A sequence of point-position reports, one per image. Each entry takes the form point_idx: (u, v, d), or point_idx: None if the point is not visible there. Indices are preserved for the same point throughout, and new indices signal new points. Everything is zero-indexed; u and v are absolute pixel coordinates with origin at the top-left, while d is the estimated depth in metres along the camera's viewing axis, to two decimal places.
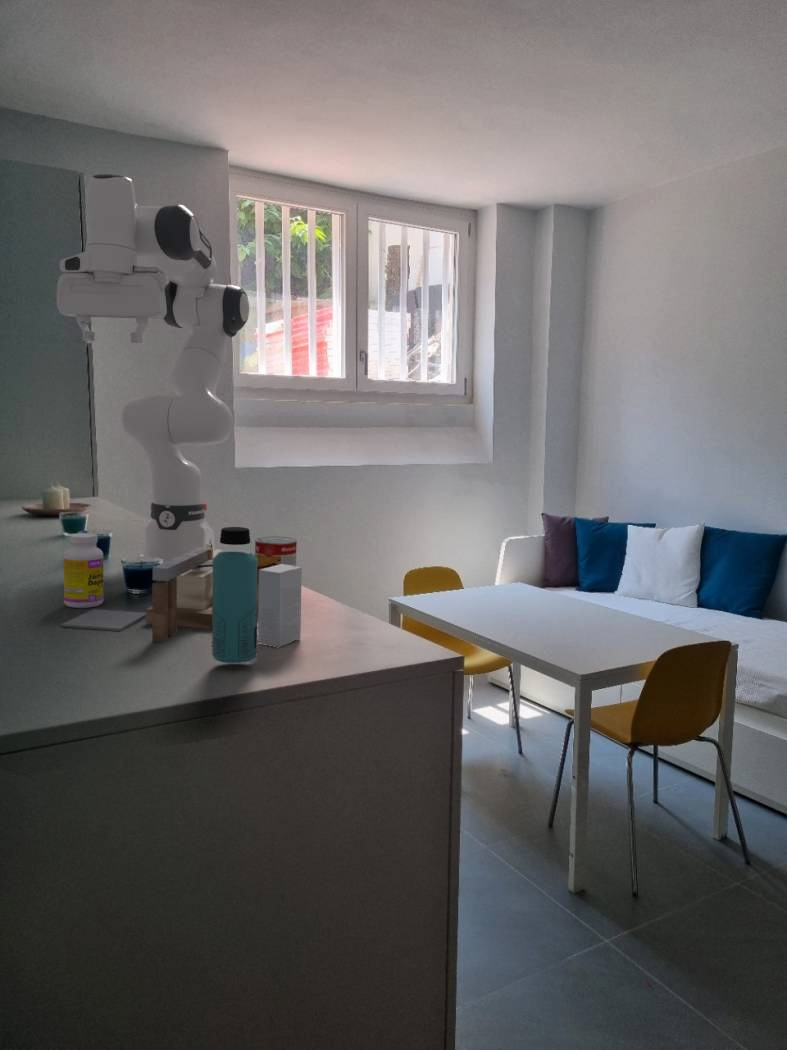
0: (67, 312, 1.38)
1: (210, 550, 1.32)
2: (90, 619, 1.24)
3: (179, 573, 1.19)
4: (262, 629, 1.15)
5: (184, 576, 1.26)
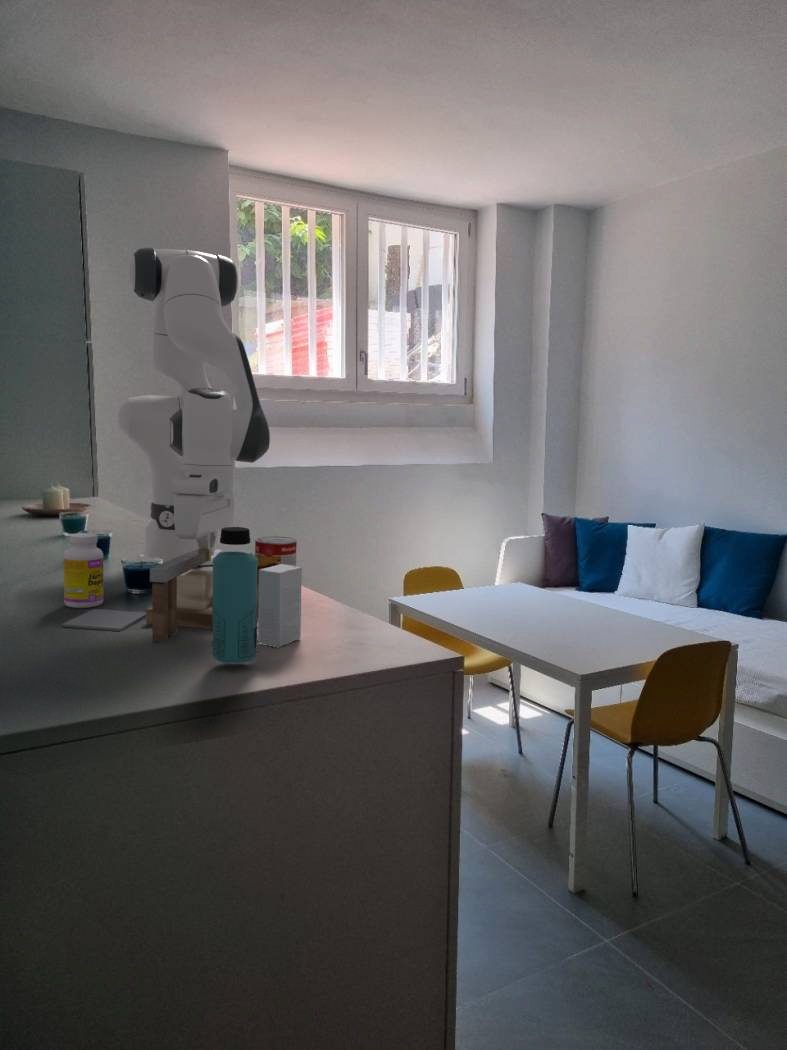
0: (199, 536, 1.25)
1: (208, 551, 1.31)
2: (90, 619, 1.24)
3: (177, 574, 1.18)
4: (262, 629, 1.15)
5: (184, 576, 1.26)
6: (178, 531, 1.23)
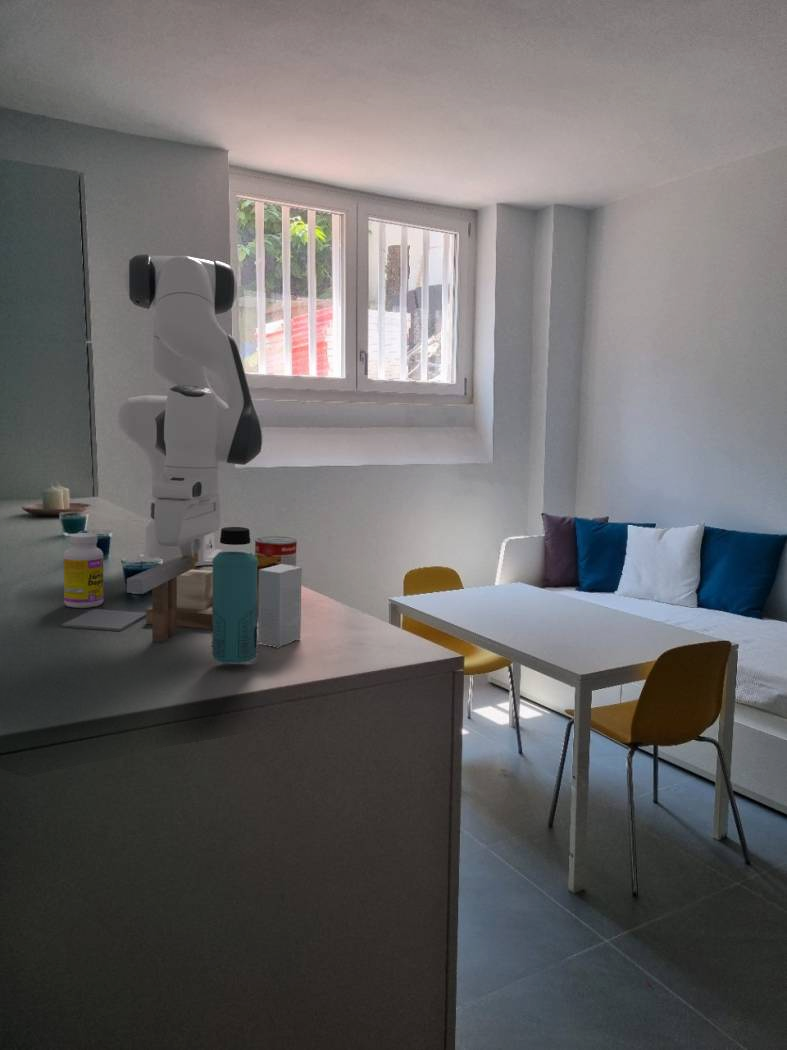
0: (182, 543, 1.18)
1: (192, 559, 1.23)
2: (90, 619, 1.24)
3: (156, 584, 1.10)
4: (262, 629, 1.15)
5: (184, 576, 1.26)
6: (159, 538, 1.16)
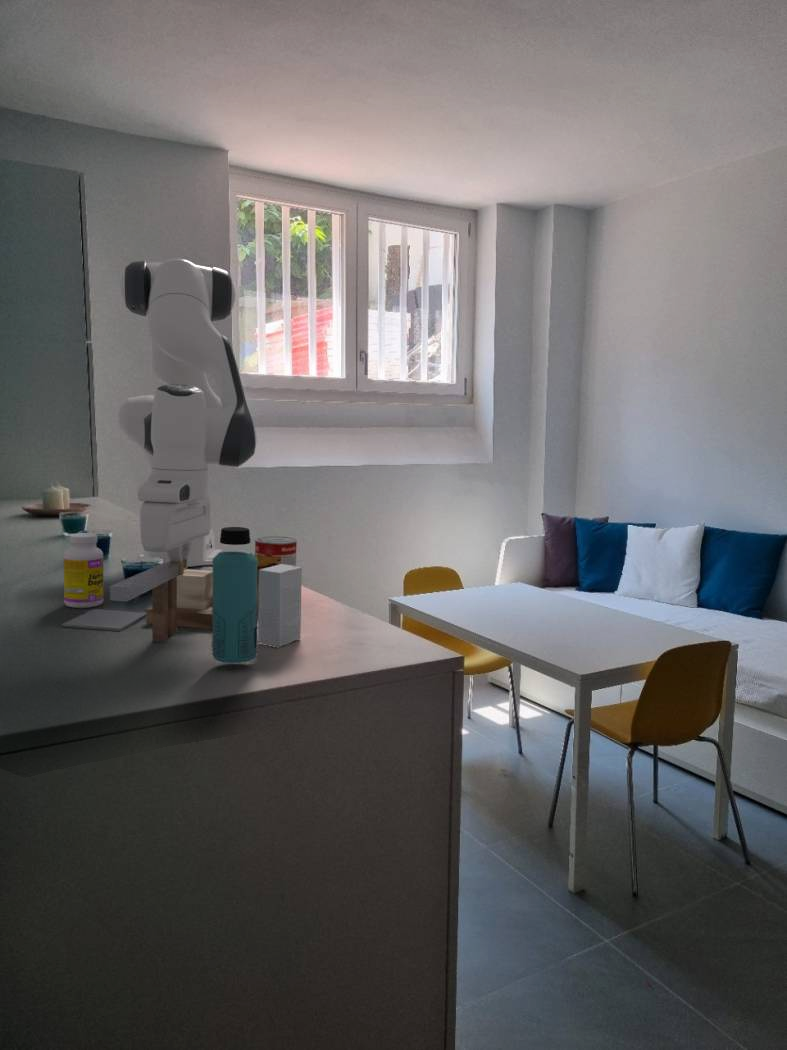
0: (169, 549, 1.13)
1: (180, 564, 1.19)
2: (90, 619, 1.24)
3: (142, 591, 1.06)
4: (262, 629, 1.15)
5: (184, 576, 1.26)
6: (145, 543, 1.11)
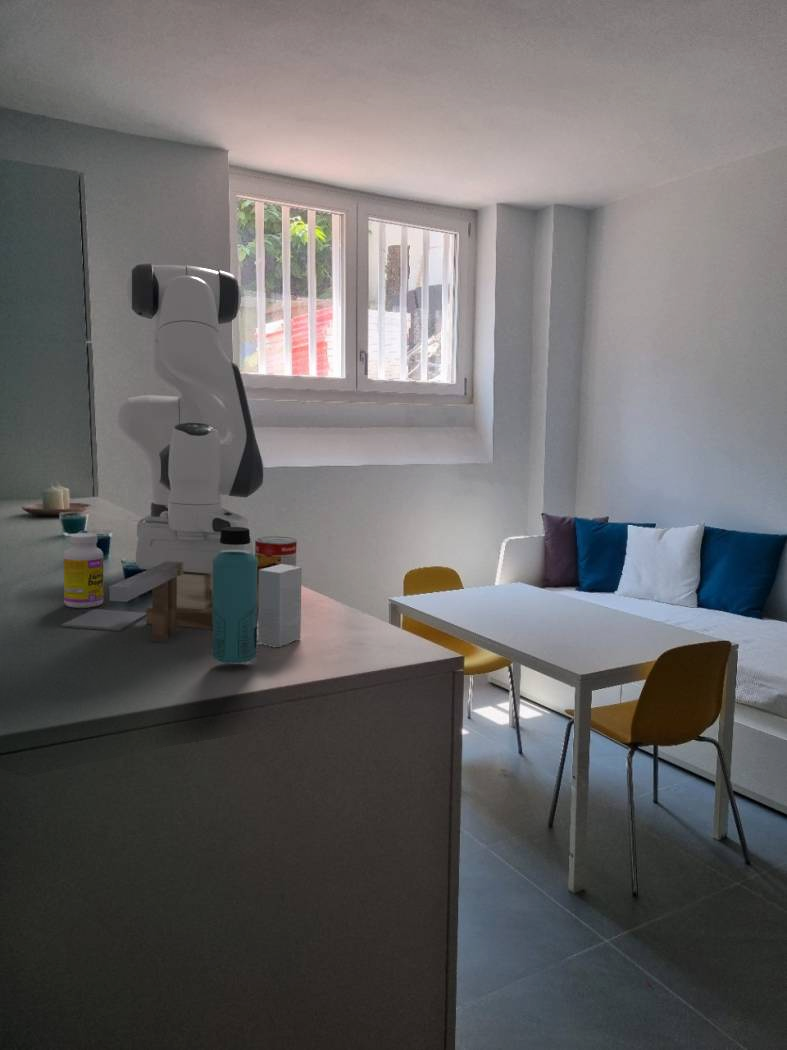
0: None
1: (180, 564, 1.18)
2: (90, 619, 1.24)
3: (141, 592, 1.05)
4: (262, 629, 1.15)
5: (184, 576, 1.26)
6: None
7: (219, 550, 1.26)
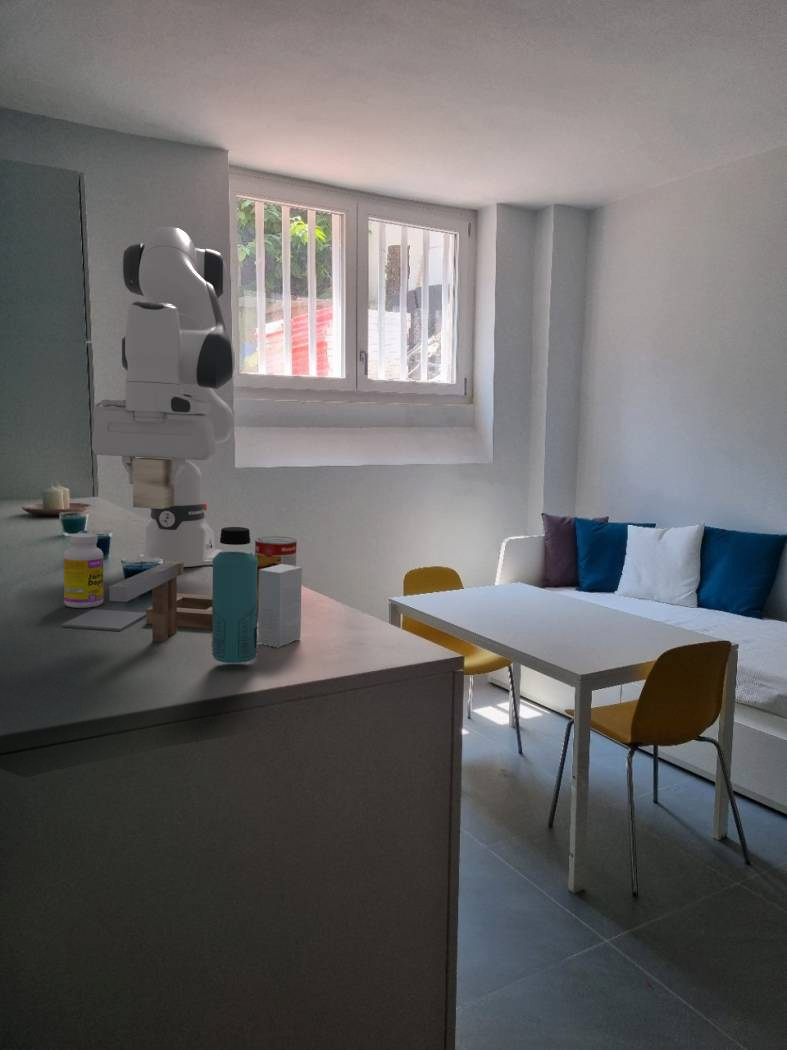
0: None
1: (180, 564, 1.18)
2: (90, 619, 1.24)
3: (141, 592, 1.05)
4: (262, 629, 1.15)
5: (142, 460, 1.21)
6: (209, 452, 1.21)
7: (179, 433, 1.21)
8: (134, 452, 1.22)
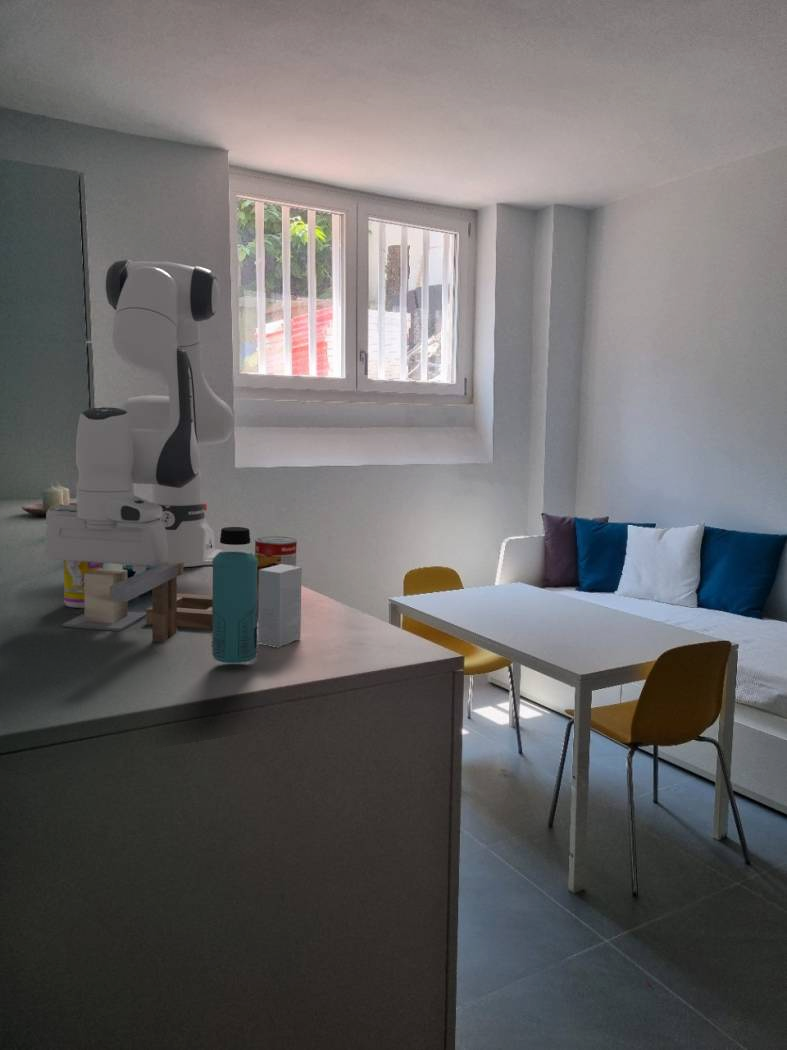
0: None
1: (180, 564, 1.18)
2: None
3: (141, 592, 1.05)
4: (262, 629, 1.15)
5: (94, 575, 1.22)
6: (160, 558, 1.21)
7: (130, 539, 1.21)
8: (86, 557, 1.22)
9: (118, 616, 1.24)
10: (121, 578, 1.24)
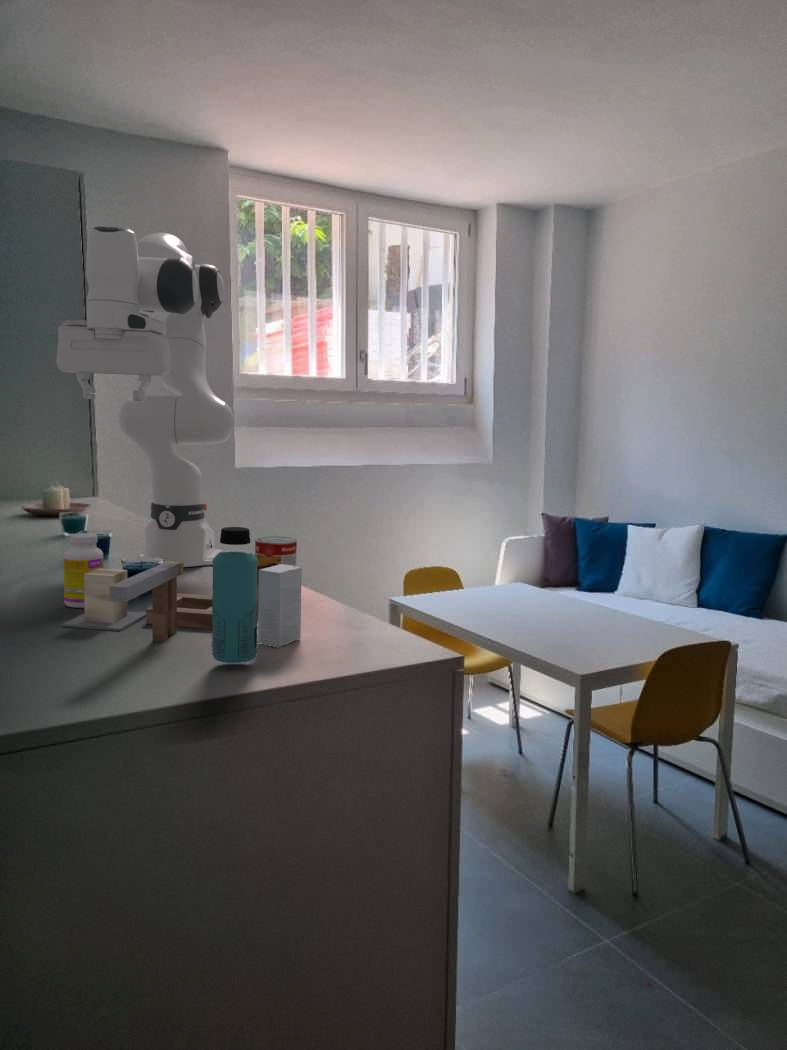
0: None
1: (180, 564, 1.18)
2: None
3: (141, 592, 1.05)
4: (262, 629, 1.15)
5: (94, 575, 1.22)
6: (164, 367, 1.30)
7: (136, 349, 1.30)
8: (95, 368, 1.31)
9: (118, 616, 1.24)
10: (121, 578, 1.24)
